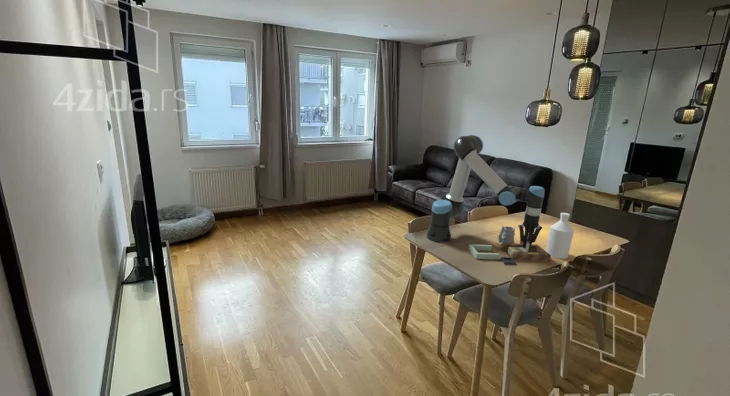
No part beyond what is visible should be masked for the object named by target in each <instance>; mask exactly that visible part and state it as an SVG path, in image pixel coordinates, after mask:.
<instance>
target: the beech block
mask: <svg viewBox="0 0 730 396" xmlns="http://www.w3.org/2000/svg"><path fill="white" fill-rule="evenodd" d="M511 253H526V254H527V251H526V250H525V249H524V248H522V247H509V248H508V250H507V254H508V255H509V257H511Z"/></svg>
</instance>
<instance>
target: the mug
mask: <svg viewBox="0 0 730 396" xmlns="http://www.w3.org/2000/svg"><path fill="white" fill-rule="evenodd" d="M515 231H516V228H514V227H512V226H506V225H505V226H504V225H501V230H500V232H499V234H498V237H497V239H498V243H501V244H502V243H506V244H515V243H514V242H515V235H516V233H515Z"/></svg>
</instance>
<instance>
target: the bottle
mask: <svg viewBox="0 0 730 396" xmlns="http://www.w3.org/2000/svg"><path fill="white" fill-rule="evenodd" d="M559 215H560V219H559V221H556V222H555V223H554V224H552V225H550V228H549V232H548V233H549V234H548V238H547V245H546V249H545V251H546V252H547V253H549V254H550V255H551V258H554V259H560V260H561V259H564V260H565V259H567V258H569V254H570V249H571V245H572V241H573V237H574V232H575V230H574V228H573V227H572V225H571V224H570V223H569V218H570V217H571V214H570V213H568V212H560V214H559Z"/></svg>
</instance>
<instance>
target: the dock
mask: <svg viewBox="0 0 730 396" xmlns="http://www.w3.org/2000/svg"><path fill="white" fill-rule="evenodd" d="M467 248H468V251H469V252H470V253H471V255H472V256H473V257H474V259H475V260H500V257H501V255H500V253H497V252H496V253H495V252H494V253H493V252H492V250H493V245H491V244H471V243H470V244H468V247H467ZM480 250H481V251H484V252H478V251H480Z"/></svg>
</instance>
